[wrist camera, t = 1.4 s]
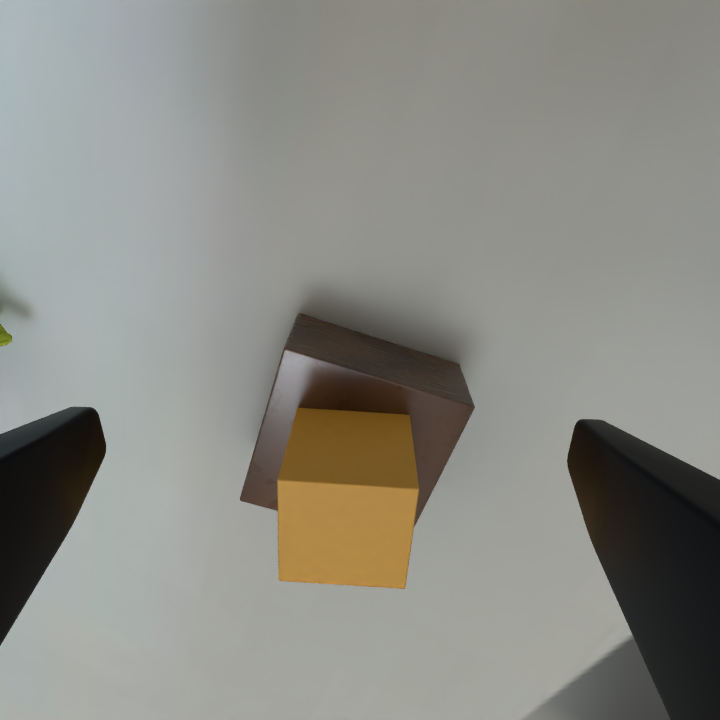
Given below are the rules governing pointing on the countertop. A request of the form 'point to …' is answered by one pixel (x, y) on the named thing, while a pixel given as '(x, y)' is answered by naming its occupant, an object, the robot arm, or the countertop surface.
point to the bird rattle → (4, 337)
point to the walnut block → (359, 399)
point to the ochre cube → (347, 499)
